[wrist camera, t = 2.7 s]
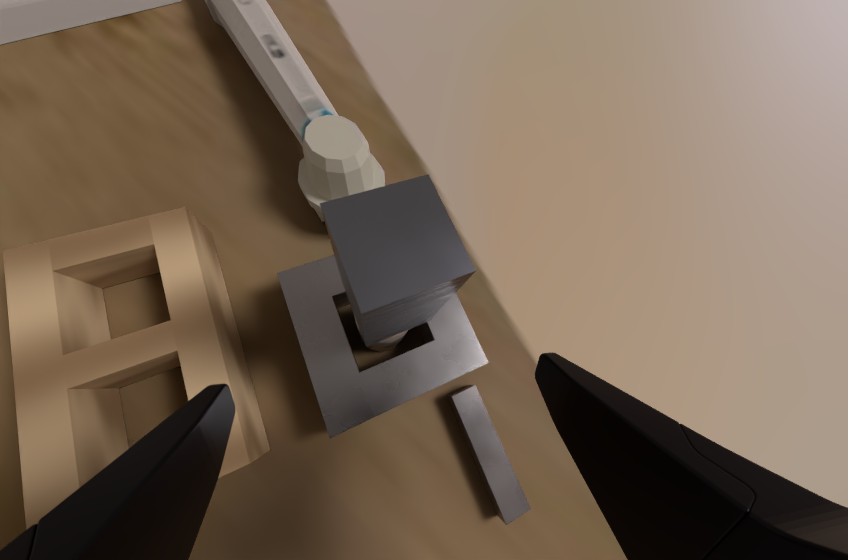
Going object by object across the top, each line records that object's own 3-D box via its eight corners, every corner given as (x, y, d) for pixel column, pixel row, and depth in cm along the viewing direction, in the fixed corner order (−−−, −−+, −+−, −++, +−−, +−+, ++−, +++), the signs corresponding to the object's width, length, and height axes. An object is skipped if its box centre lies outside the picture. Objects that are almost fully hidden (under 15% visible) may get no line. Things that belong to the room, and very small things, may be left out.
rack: (270, 450, 17) (249, 463, 14) (95, 531, 15) (29, 566, 12) (210, 231, 20) (184, 206, 17) (60, 271, 18) (3, 250, 15)
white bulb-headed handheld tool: (243, -61, 24) (403, 142, 16) (273, 36, 30) (400, 220, 22) (171, -53, 23) (306, 176, 14) (217, 48, 29) (332, 250, 20)
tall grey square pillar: (411, 340, 20) (476, 270, 8) (367, 359, 19) (361, 313, 7) (394, 298, 21) (428, 174, 8) (351, 314, 20) (319, 203, 8)
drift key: (520, 501, 18) (530, 509, 17) (497, 515, 17) (506, 524, 16) (469, 384, 20) (475, 385, 18) (447, 395, 19) (451, 396, 18)
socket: (471, 365, 20) (488, 362, 17) (336, 429, 17) (329, 438, 15) (417, 246, 22) (424, 226, 19) (290, 289, 20) (276, 273, 17)
